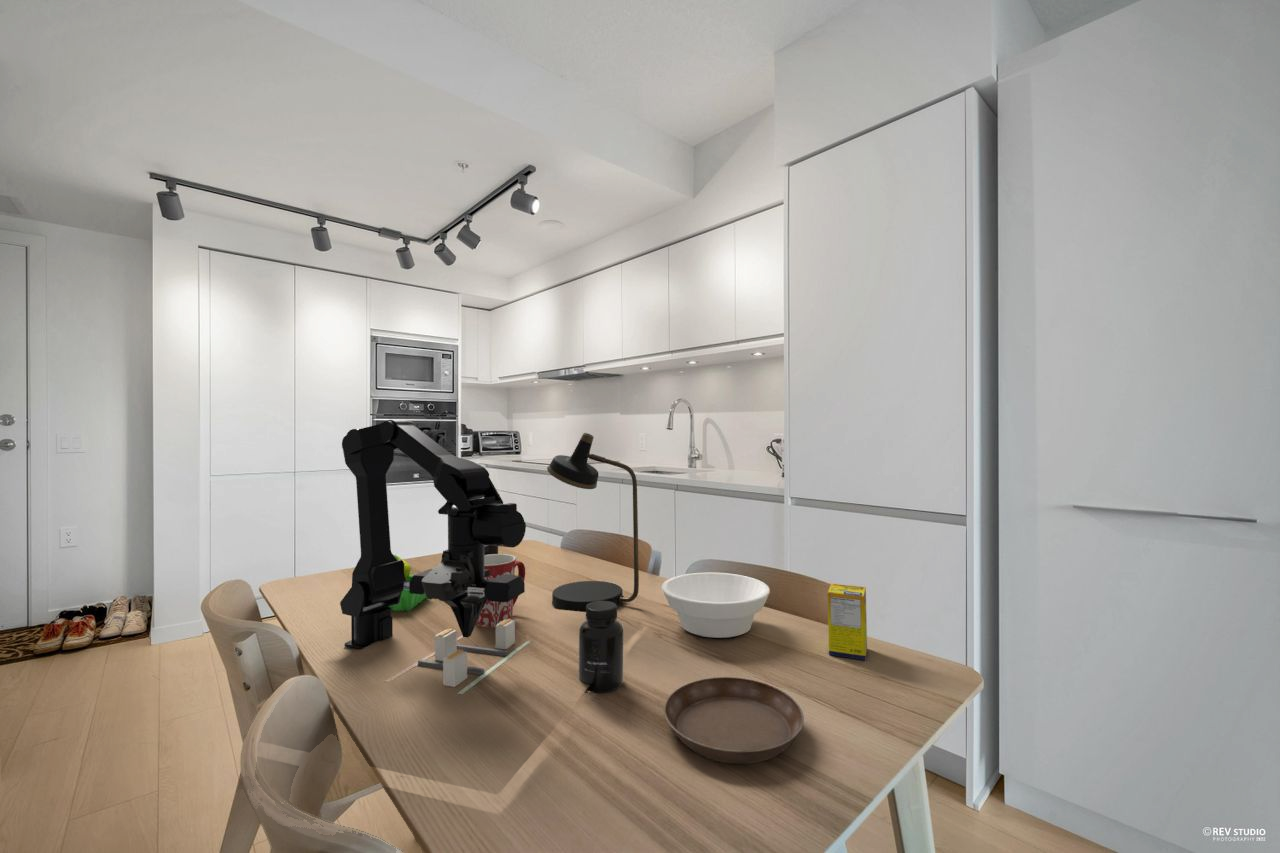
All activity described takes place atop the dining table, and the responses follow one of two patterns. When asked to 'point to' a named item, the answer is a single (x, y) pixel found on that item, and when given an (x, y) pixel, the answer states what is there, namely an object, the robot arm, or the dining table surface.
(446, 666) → the block
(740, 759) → the plant saucer
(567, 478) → the lamp
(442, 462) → the robot arm
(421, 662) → the panel
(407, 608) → the fruit basket
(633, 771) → the dining table surface
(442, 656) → the block
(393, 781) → the dining table surface
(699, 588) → the bowl
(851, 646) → the supplement box
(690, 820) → the dining table surface
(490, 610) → the mug
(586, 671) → the supplement bottle
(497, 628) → the block
